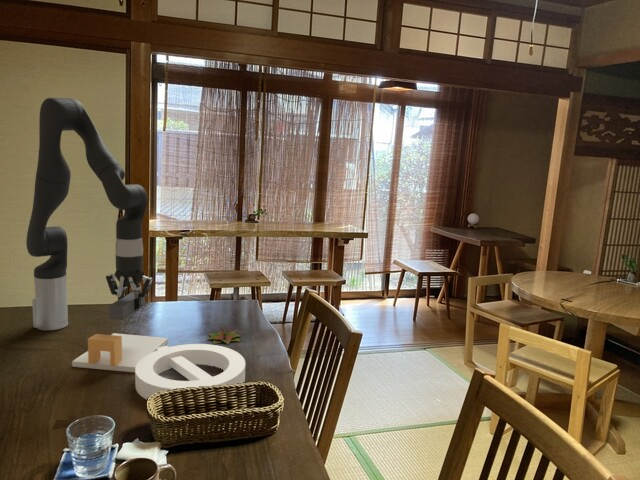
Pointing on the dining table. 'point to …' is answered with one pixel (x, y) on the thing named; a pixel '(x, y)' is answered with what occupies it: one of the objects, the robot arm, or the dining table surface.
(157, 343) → the mat
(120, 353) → the orange arch block
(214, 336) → the lily flower
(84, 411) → the dining table surface
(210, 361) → the ring with crossbar
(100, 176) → the robot arm
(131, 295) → the long grey rectangular bar
